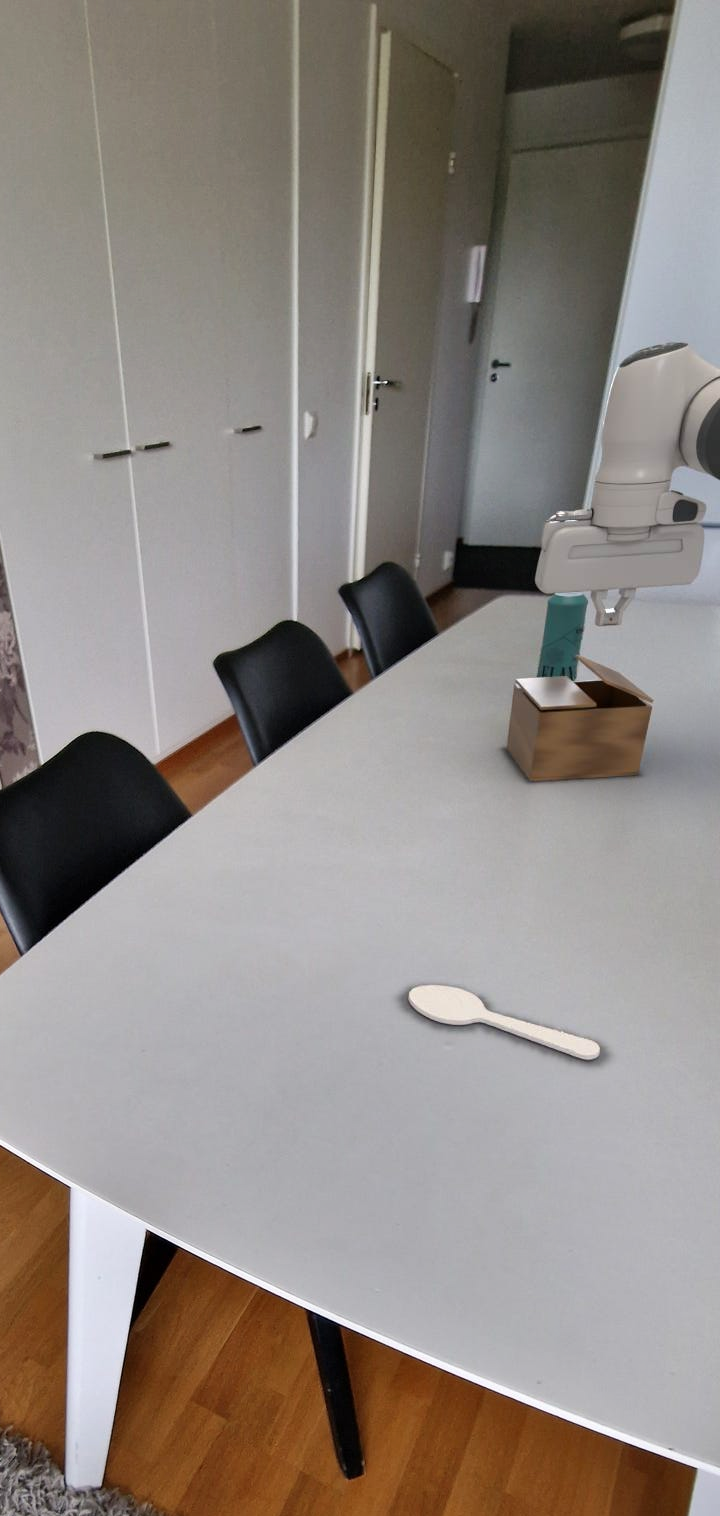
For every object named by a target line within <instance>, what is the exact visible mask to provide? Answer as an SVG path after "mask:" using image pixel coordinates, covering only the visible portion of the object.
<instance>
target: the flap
mask: <svg viewBox="0 0 720 1516" xmlns="http://www.w3.org/2000/svg"><path fill="white" fill-rule="evenodd" d="M579 655H580V654H579ZM579 655H577V654H576V655H575V657H576V658H577V659H578V661H579V663H581V664H582V665H584V666H585V668H587V669H588V670H589V671H591V672H592V674H594V675H595V676H597V677H598V678H599V680H603V681H604V682H605V683H606V684H609V685H611V686H613V687H616V688H618V689H620V690H623V691H625V692H627V693H630V694H632V695H634V696H637V697H639V698H641V699H644V700H645V701H646V702H647V703H650V704H653V702H654V699H653V698H652V697H650V696H649V695H648V694H647V693H646V692H644V691H643V690H642V689H640V688H639V687H638V686H636V685H635V684H634V683H633V682H632V681H630V680H629V679H627V678H626V677H625V676H624V675H622V674H621V673H620V672H618V671H616V670H614V669H612V668H609V667H607V666H605V665H602V664H600V663H599V662H596V661H593V660H592V659H588V658H586V657H584V656H582V655H580V656H579Z"/></svg>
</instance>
